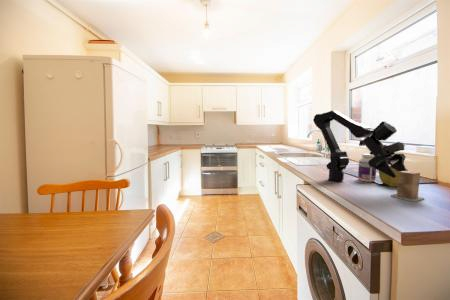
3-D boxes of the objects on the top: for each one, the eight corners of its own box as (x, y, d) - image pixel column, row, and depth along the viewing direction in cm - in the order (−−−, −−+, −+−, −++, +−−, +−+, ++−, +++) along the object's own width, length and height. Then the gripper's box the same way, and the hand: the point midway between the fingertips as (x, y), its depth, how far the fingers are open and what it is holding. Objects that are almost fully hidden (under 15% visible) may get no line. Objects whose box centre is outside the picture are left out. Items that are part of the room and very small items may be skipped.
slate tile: (390, 196, 93) (390, 194, 93) (401, 193, 96) (401, 192, 96) (413, 201, 86) (413, 200, 86) (424, 199, 89) (424, 197, 89)
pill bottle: (370, 179, 125) (372, 153, 123) (378, 182, 117) (380, 155, 115) (354, 178, 125) (356, 153, 124) (362, 182, 117) (364, 155, 116)
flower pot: (407, 187, 107) (408, 169, 106) (388, 187, 107) (390, 168, 107) (393, 183, 116) (395, 166, 115) (376, 182, 116) (378, 165, 115)
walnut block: (396, 195, 92) (399, 171, 91) (403, 193, 94) (405, 170, 93) (411, 198, 88) (413, 173, 87) (417, 197, 90) (420, 172, 89)
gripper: (378, 135, 91) (406, 166, 83) (403, 135, 100) (431, 163, 91) (357, 152, 99) (381, 182, 91) (382, 150, 107) (406, 178, 99)
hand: (401, 176), depth 93 cm, fingers open, 9 cm apart
